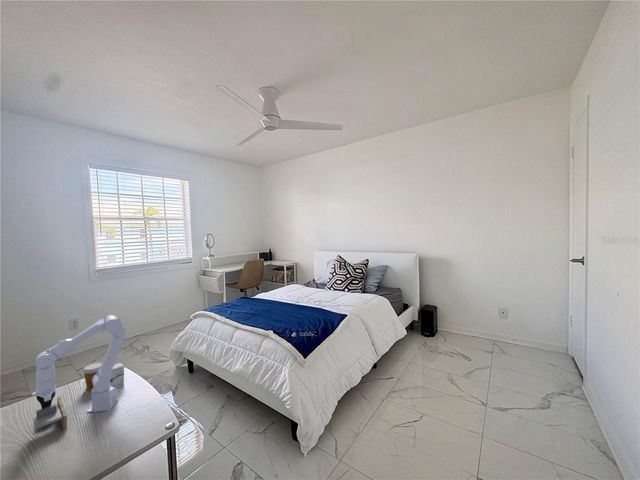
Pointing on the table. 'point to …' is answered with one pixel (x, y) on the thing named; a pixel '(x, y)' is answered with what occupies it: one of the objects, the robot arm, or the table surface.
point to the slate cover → (46, 416)
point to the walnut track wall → (62, 412)
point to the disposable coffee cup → (91, 373)
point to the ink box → (117, 375)
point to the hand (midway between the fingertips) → (46, 409)
